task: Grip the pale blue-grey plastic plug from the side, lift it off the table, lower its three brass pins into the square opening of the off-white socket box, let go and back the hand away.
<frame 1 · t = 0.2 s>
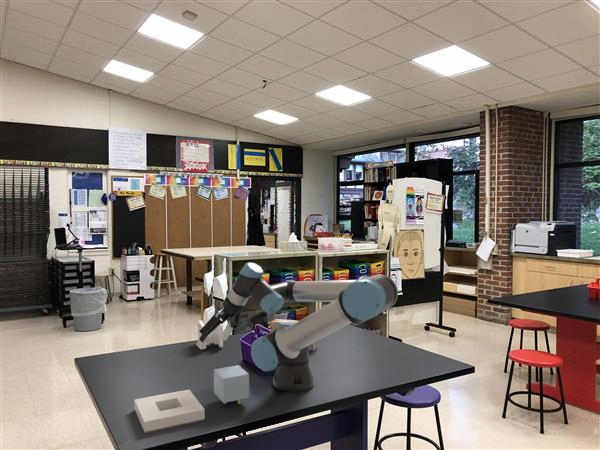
hand: (211, 342, 176), 15 cm above the table, tool tilted 35°, fingers open, 13 cm apart
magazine: (259, 341, 231), on the table
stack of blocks: (293, 347, 220), on the table
plug: (231, 402, 157), on the table
socket: (168, 415, 147), on the table
cable organizer: (210, 346, 221), on the table
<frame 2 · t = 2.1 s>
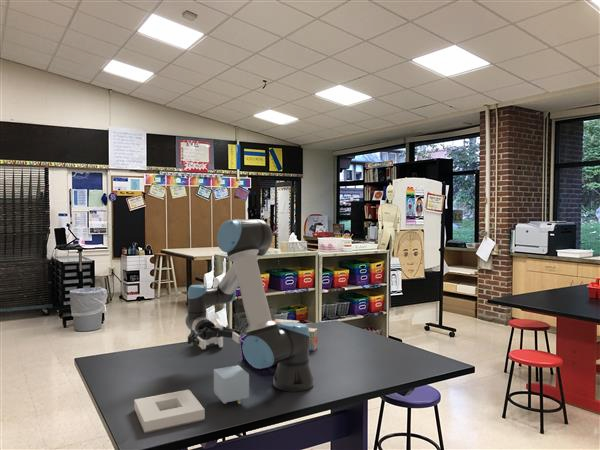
hand: (221, 342, 165), 18 cm above the table, tool horizontal, fingers open, 13 cm apart
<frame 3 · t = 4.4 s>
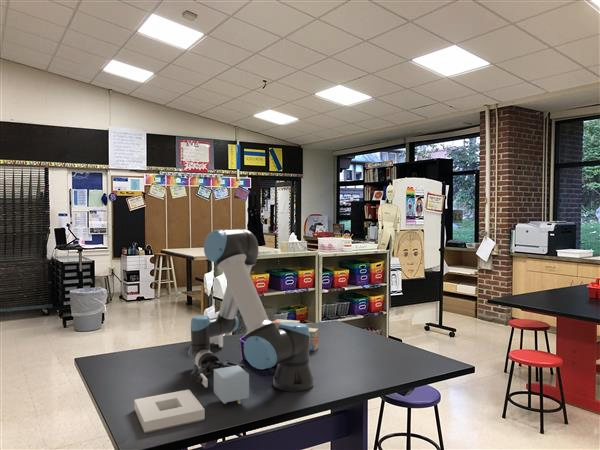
hand: (225, 379, 160), 6 cm above the table, tool horizontal, fingers open, 13 cm apart
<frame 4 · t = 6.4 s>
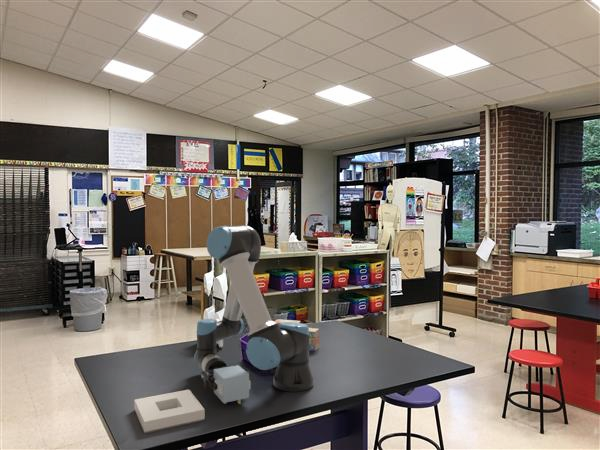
hand: (235, 387, 153), 7 cm above the table, tool horizontal, fingers closed on plug, 9 cm apart
plug: (231, 402, 157), on the table, touching gripper
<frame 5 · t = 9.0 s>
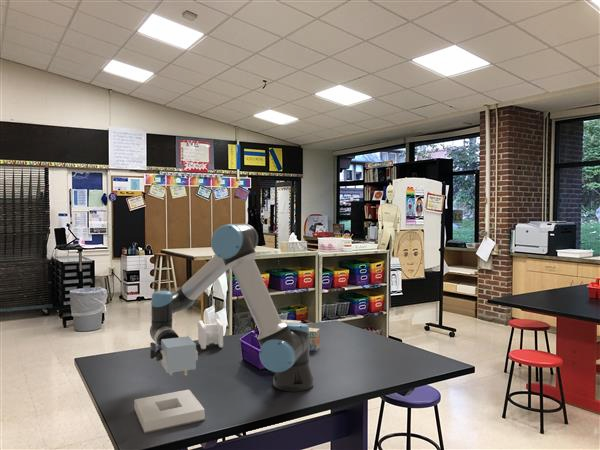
hand: (181, 358, 145), 19 cm above the table, tool horizontal, fingers closed on plug, 9 cm apart
plug: (178, 373, 150), point 12 cm above the table, touching gripper
when the fingers open (9 cm above the table, at t = 11.8 s): plug drops 2 cm, resting on socket.
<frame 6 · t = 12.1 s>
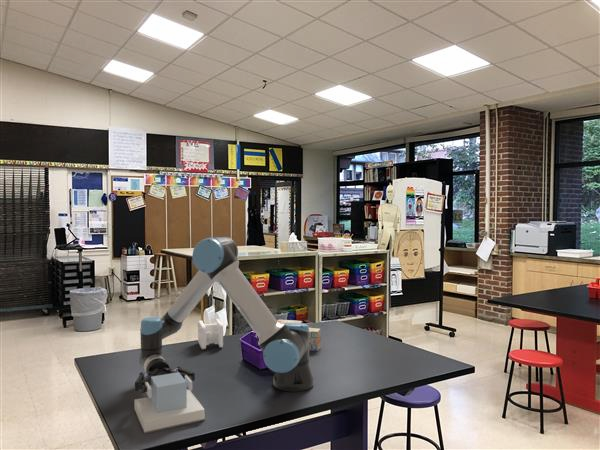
hand: (171, 389, 143), 9 cm above the table, tool horizontal, fingers open, 12 cm apart
plug: (168, 411, 147), point 1 cm above the table, touching socket
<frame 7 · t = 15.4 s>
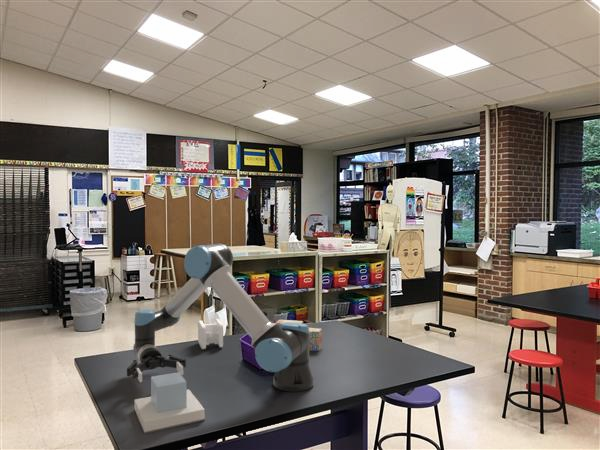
hand: (162, 374, 155), 10 cm above the table, tool horizontal, fingers open, 13 cm apart
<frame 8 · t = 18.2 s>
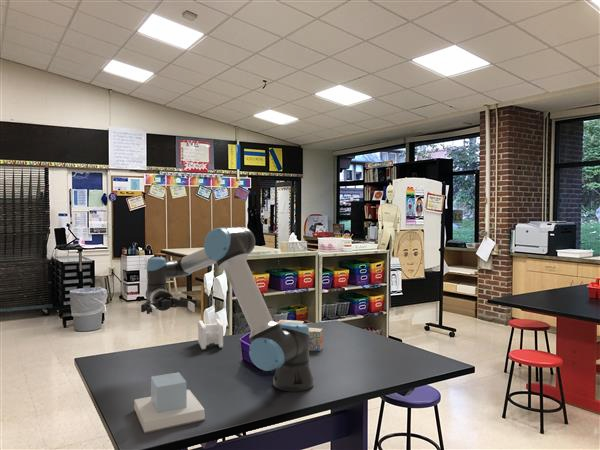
hand: (174, 310, 163), 30 cm above the table, tool horizontal, fingers open, 13 cm apart
at the end: plug 0.1 cm off-centre on the socket, point 1.0 cm above the socket's base; plug tilted 0°; the gripper is holding nothing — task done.
